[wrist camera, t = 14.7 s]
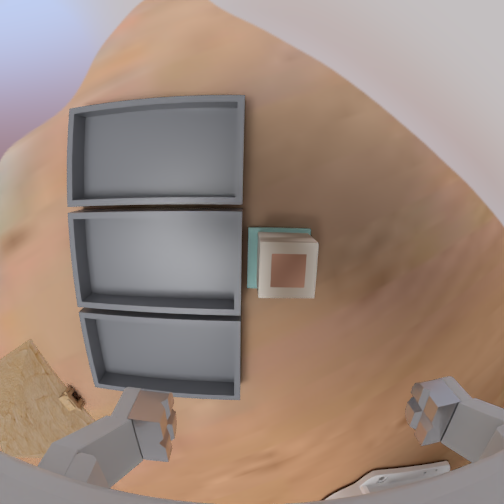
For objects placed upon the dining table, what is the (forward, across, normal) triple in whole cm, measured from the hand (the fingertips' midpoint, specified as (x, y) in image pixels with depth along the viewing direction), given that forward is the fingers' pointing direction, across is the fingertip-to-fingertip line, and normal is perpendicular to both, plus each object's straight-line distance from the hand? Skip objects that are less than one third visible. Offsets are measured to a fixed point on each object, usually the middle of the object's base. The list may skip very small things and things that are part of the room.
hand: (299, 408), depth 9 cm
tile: (+18, +28, +20) cm, 39 cm away
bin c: (+18, +9, -9) cm, 22 cm away
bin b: (+18, +9, -1) cm, 20 cm away
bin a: (+18, +9, +8) cm, 21 cm away
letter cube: (+17, -1, -1) cm, 17 cm away
